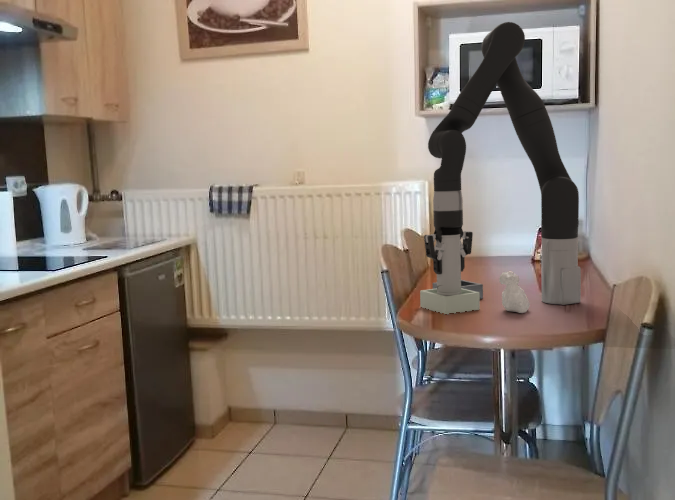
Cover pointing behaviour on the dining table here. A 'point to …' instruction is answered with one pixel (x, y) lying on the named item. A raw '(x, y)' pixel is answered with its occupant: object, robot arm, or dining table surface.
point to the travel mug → (450, 263)
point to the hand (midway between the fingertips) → (449, 272)
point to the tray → (450, 301)
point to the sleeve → (468, 287)
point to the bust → (513, 293)
